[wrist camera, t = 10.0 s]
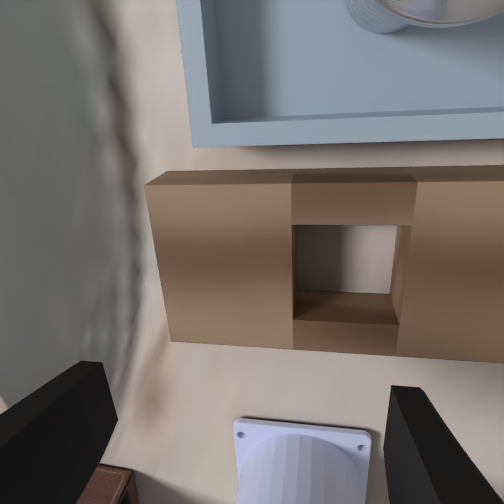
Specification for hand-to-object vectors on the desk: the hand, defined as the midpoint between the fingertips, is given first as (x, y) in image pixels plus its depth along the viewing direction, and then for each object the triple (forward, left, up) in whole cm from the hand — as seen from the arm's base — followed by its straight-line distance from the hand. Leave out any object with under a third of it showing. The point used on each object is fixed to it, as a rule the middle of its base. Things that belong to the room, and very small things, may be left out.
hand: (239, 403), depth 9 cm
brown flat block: (0, -3, -9) cm, 10 cm away
